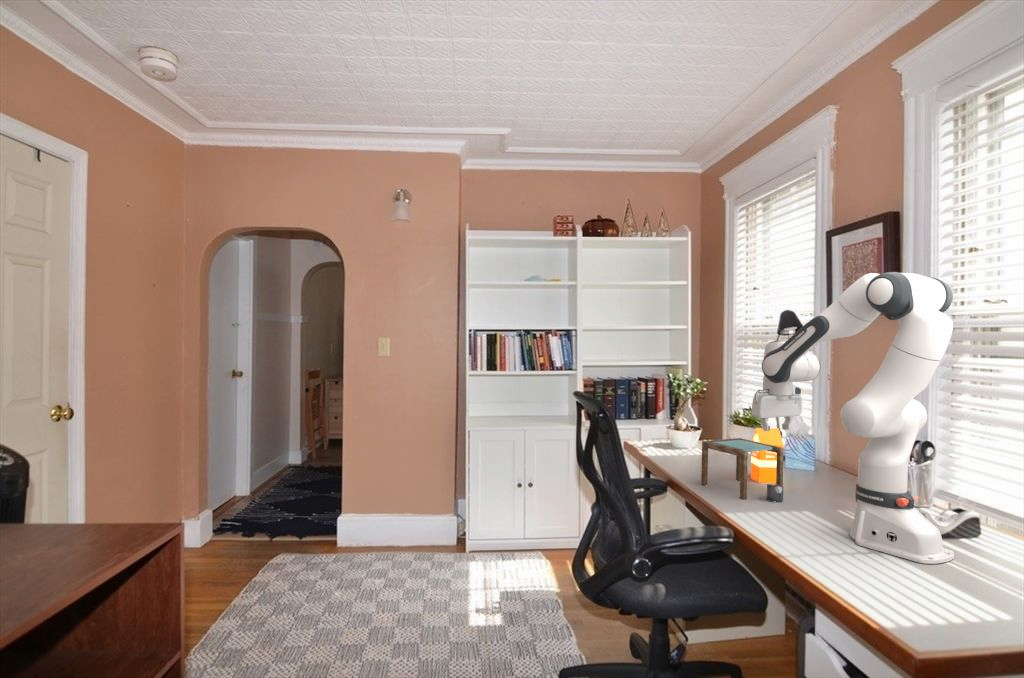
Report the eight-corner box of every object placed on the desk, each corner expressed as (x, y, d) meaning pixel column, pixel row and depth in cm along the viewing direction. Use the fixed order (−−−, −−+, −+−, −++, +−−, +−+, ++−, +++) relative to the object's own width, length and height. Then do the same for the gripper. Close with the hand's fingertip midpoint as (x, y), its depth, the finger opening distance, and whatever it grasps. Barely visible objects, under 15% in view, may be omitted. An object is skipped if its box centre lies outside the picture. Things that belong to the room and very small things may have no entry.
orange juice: (782, 483, 203) (784, 430, 203) (759, 483, 203) (760, 429, 203) (773, 478, 211) (774, 426, 211) (750, 477, 211) (751, 426, 211)
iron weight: (786, 501, 181) (786, 486, 181) (776, 503, 179) (776, 488, 179) (773, 497, 185) (773, 482, 185) (763, 499, 183) (763, 484, 183)
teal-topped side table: (782, 493, 190) (783, 447, 190) (743, 499, 182) (744, 451, 182) (738, 480, 207) (739, 438, 207) (701, 484, 199) (702, 441, 199)
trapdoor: (772, 449, 191) (772, 446, 191) (743, 452, 185) (743, 449, 185) (739, 442, 204) (739, 439, 204) (711, 444, 198) (711, 441, 198)
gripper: (763, 390, 174) (762, 433, 175) (806, 389, 183) (805, 430, 183) (747, 388, 180) (746, 430, 180) (789, 387, 189) (788, 427, 189)
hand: (776, 430), depth 182 cm, fingers open, 8 cm apart
